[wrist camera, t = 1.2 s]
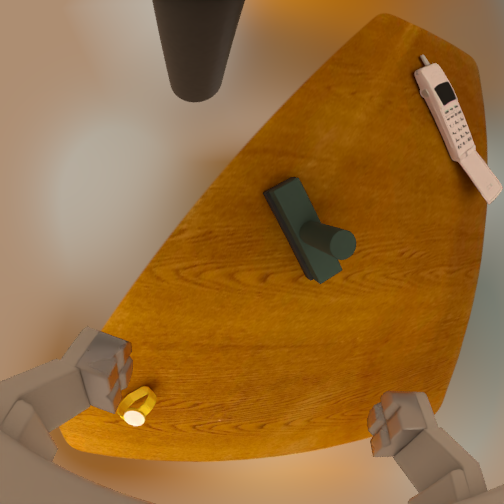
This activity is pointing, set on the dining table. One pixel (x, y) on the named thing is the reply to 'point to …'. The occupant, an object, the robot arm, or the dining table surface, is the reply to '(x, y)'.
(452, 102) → the mobile phone
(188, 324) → the dining table surface
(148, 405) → the watch
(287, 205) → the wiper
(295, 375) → the dining table surface
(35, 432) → the robot arm
